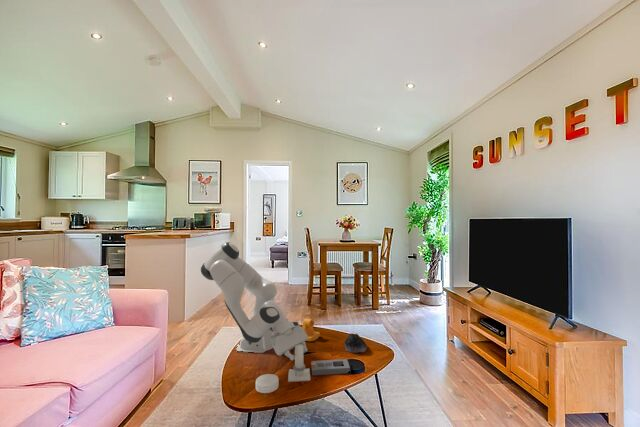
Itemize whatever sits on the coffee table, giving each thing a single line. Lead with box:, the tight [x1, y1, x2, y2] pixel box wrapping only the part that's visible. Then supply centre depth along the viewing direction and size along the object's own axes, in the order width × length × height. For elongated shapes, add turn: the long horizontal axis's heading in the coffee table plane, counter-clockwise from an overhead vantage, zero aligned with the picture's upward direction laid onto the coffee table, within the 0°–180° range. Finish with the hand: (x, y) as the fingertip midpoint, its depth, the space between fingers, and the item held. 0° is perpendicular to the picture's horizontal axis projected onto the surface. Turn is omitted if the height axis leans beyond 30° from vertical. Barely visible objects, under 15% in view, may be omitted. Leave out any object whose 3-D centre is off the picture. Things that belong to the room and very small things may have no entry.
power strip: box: [310, 358, 351, 376], centre depth 141 cm, size 18×9×3 cm, turn 94°
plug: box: [292, 344, 306, 376], centre depth 136 cm, size 6×6×13 cm
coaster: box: [255, 373, 280, 394], centre depth 127 cm, size 10×10×4 cm
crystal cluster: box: [344, 332, 368, 354], centre depth 164 cm, size 13×14×10 cm
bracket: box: [301, 317, 321, 342], centre depth 180 cm, size 11×7×12 cm, turn 144°
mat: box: [287, 368, 311, 383], centre depth 136 cm, size 10×10×1 cm
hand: (299, 355), depth 136 cm, fingers open, 8 cm apart
